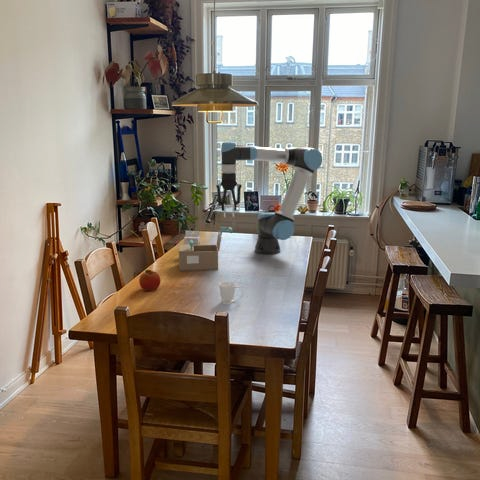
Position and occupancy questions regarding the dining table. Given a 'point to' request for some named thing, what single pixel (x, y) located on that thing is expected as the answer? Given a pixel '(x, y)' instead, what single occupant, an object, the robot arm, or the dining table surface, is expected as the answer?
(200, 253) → the carton
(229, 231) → the flap
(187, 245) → the flap
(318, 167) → the robot arm
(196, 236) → the ink box
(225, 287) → the cup
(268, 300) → the dining table surface
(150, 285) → the fruit
